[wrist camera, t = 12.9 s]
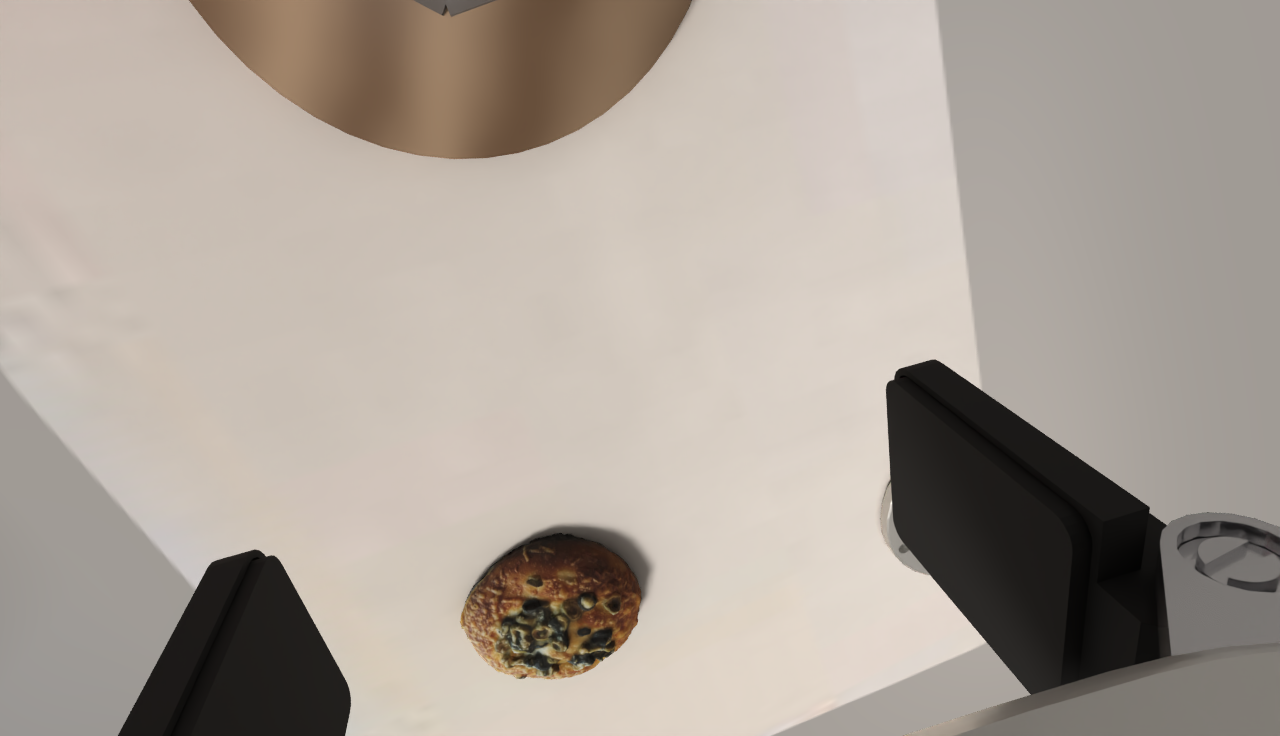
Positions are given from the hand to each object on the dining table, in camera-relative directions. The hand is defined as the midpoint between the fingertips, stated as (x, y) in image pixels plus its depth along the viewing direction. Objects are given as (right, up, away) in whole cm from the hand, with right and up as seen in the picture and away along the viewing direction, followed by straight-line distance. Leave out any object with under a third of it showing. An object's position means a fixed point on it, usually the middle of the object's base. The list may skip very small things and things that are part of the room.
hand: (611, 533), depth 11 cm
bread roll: (-5, -12, +35) cm, 37 cm away
